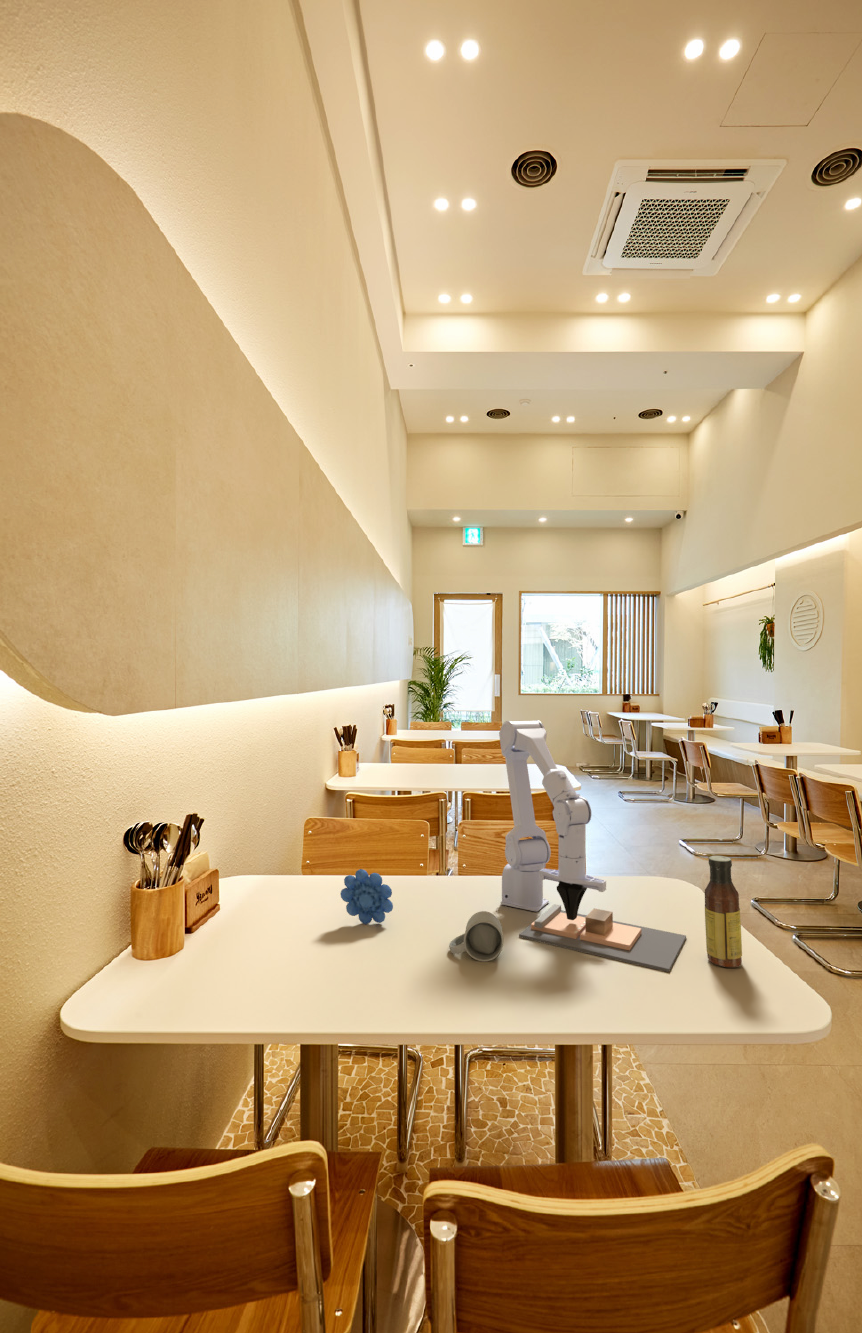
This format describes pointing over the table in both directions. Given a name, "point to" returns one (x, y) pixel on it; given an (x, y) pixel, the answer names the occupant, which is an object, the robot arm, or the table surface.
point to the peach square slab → (608, 930)
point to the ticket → (559, 923)
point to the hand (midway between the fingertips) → (571, 918)
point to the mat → (646, 951)
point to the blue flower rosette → (367, 896)
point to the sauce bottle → (722, 915)
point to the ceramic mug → (480, 937)
